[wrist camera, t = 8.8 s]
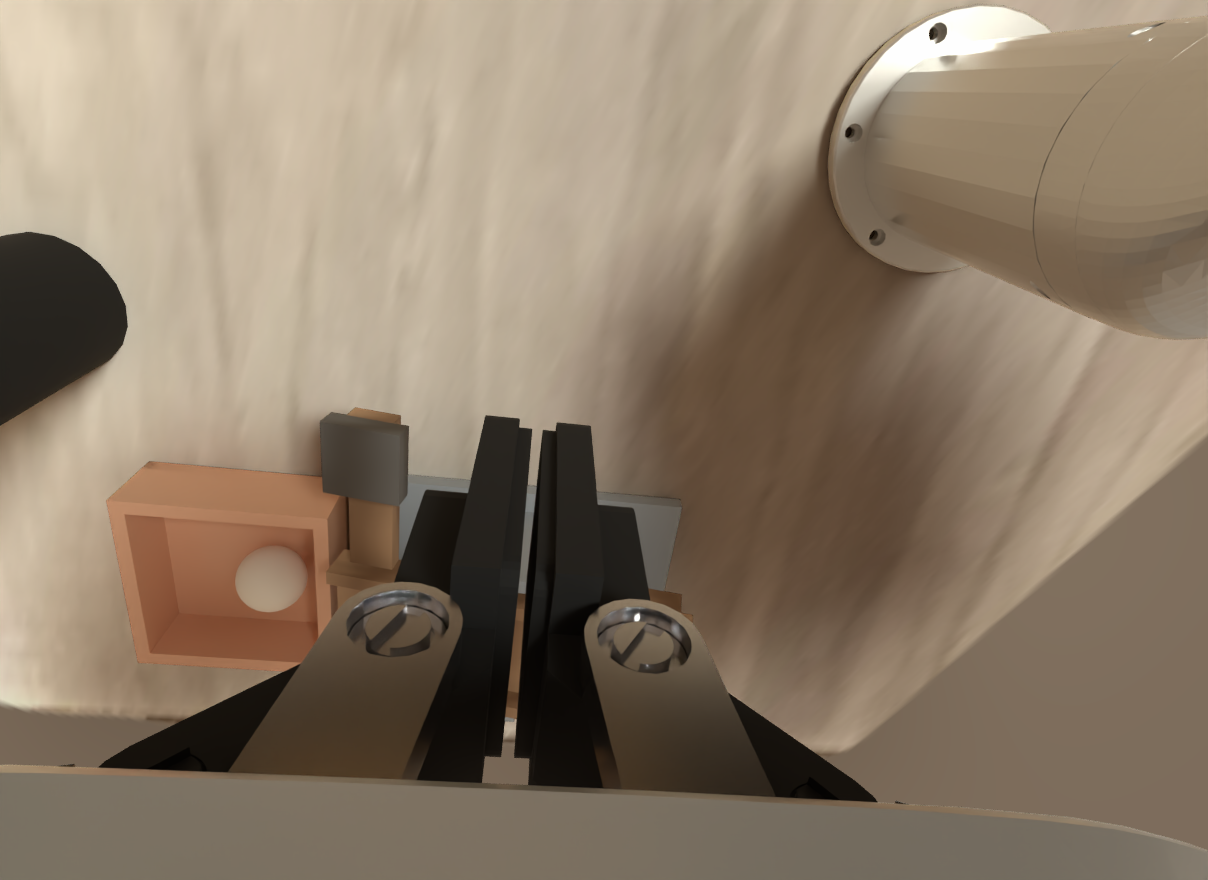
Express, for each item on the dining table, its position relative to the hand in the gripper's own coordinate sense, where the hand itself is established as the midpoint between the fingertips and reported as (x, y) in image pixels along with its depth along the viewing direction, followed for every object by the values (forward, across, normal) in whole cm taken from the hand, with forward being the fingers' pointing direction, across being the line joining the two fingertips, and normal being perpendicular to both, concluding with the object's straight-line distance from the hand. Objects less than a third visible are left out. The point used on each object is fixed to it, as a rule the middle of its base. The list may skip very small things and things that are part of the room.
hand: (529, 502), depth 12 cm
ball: (+26, +15, +23) cm, 38 cm away
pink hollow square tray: (+29, +16, +23) cm, 41 cm away
